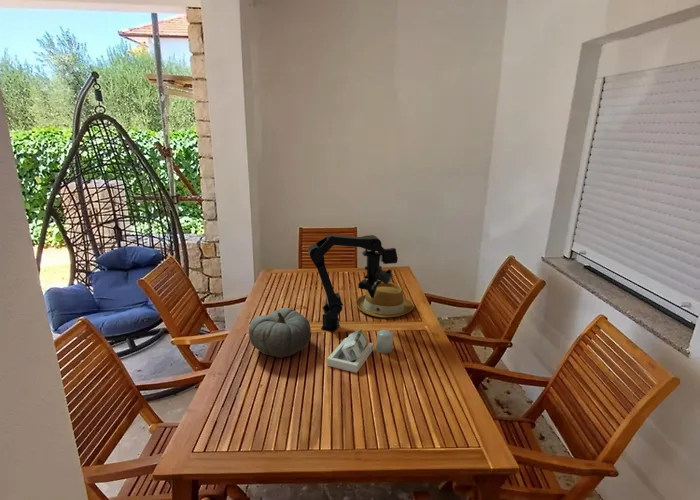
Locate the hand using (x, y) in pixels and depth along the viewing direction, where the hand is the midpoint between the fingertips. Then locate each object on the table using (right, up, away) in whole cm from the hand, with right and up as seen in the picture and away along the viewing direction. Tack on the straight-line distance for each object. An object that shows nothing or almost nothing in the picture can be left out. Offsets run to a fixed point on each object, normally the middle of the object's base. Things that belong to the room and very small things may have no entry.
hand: (372, 297), depth 184 cm
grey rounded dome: (+4, -19, -17) cm, 26 cm away
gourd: (-38, -19, -17) cm, 46 cm away
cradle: (-9, -20, -23) cm, 32 cm away
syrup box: (-7, -14, -16) cm, 23 cm away
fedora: (+7, -8, +21) cm, 24 cm away
